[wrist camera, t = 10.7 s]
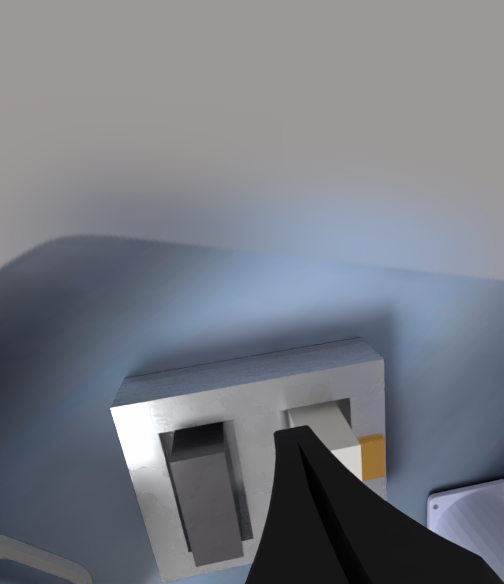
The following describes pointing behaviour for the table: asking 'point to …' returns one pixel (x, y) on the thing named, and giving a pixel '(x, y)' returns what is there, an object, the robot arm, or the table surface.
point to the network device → (43, 561)
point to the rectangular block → (329, 432)
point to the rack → (235, 444)
